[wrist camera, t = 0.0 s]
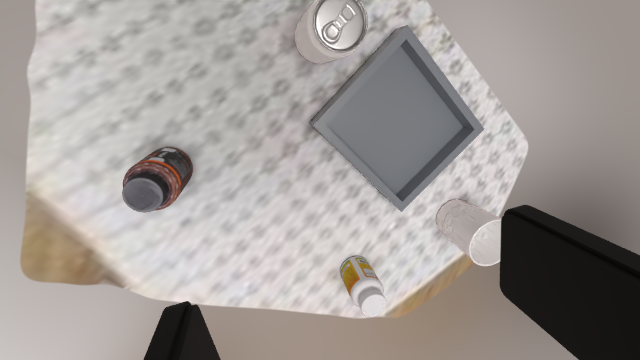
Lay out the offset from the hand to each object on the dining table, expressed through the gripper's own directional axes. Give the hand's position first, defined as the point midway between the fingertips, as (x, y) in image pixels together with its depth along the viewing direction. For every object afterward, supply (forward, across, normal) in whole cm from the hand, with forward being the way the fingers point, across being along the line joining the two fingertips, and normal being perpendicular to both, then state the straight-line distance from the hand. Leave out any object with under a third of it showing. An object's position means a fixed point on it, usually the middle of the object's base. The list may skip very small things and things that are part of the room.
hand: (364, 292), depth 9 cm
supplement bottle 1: (+38, +16, +2) cm, 41 cm away
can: (+38, -8, -10) cm, 40 cm away
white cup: (+38, -27, +23) cm, 52 cm away
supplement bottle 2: (+38, -7, +28) cm, 47 cm away
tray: (+37, -18, +4) cm, 41 cm away
